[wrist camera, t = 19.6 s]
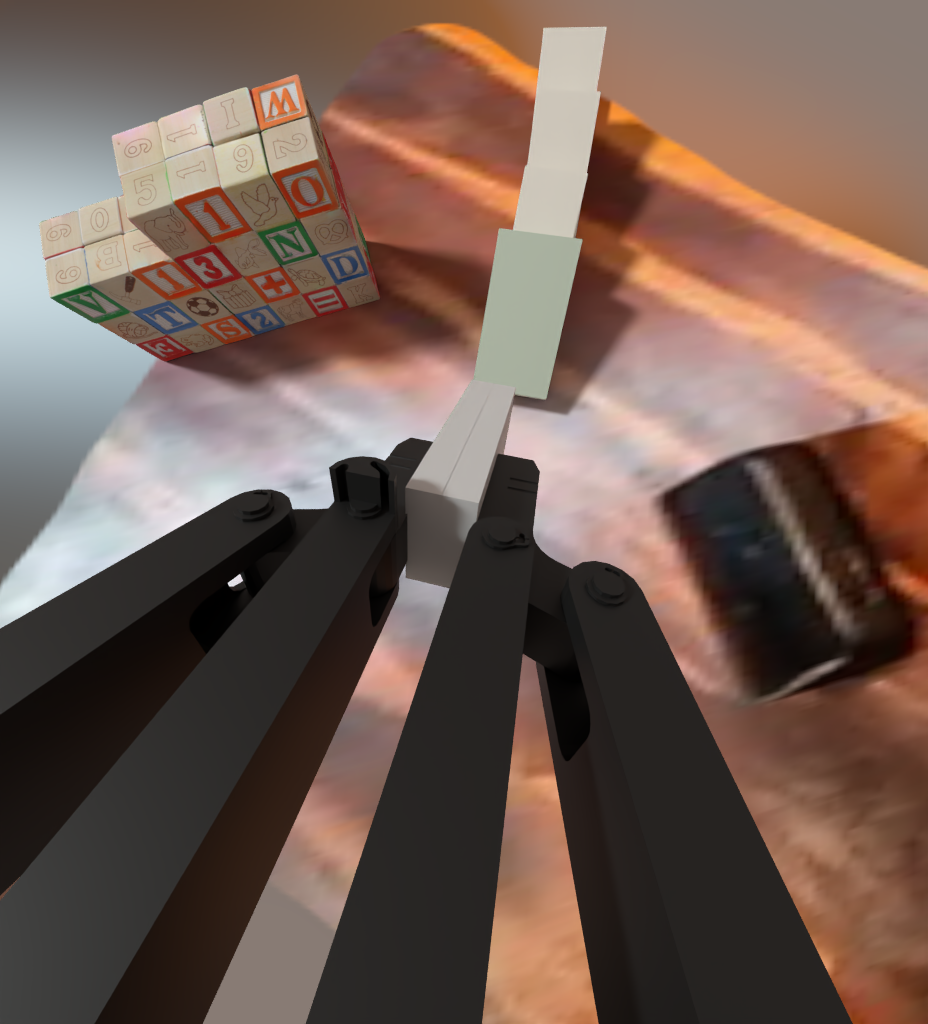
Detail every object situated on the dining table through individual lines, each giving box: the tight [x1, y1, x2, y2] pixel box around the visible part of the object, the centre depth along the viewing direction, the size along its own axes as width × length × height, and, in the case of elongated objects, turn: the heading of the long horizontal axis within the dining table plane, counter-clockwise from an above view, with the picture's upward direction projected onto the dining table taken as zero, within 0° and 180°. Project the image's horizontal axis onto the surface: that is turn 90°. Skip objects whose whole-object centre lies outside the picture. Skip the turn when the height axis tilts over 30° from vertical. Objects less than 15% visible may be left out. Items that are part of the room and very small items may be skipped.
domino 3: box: [513, 166, 588, 238], centre depth 29 cm, size 2×5×11 cm
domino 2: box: [527, 89, 601, 238], centre depth 30 cm, size 2×5×11 cm
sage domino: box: [473, 228, 583, 400], centre depth 29 cm, size 2×6×11 cm
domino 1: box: [532, 27, 606, 127], centre depth 30 cm, size 2×5×11 cm
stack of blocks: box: [39, 75, 380, 361], centre depth 28 cm, size 21×6×12 cm, turn 105°
